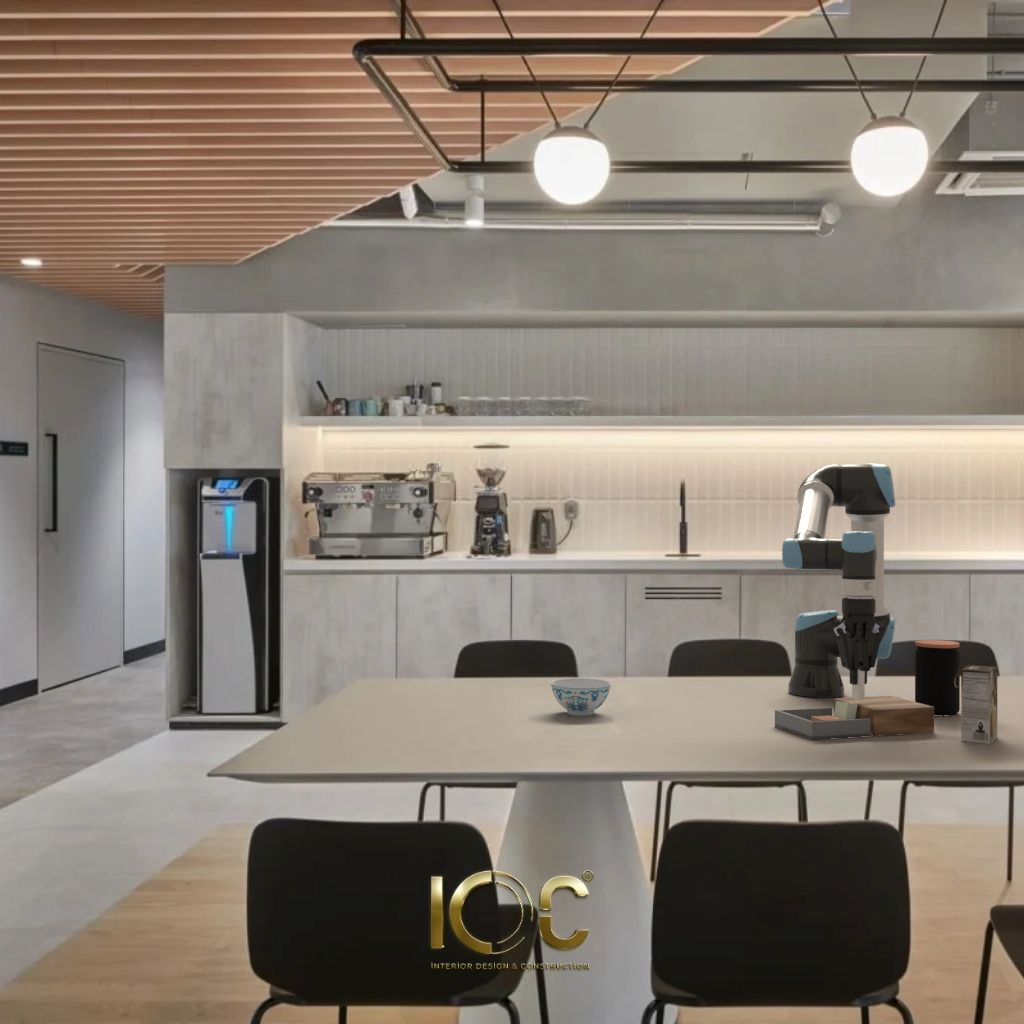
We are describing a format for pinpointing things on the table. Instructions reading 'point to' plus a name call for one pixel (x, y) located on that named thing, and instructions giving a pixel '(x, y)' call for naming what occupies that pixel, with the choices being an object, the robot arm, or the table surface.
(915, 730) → the walnut board
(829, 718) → the terracotta tile
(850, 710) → the sage tile
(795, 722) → the tray
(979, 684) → the coffee box
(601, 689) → the chinaware
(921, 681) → the coffee jar
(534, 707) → the table surface
